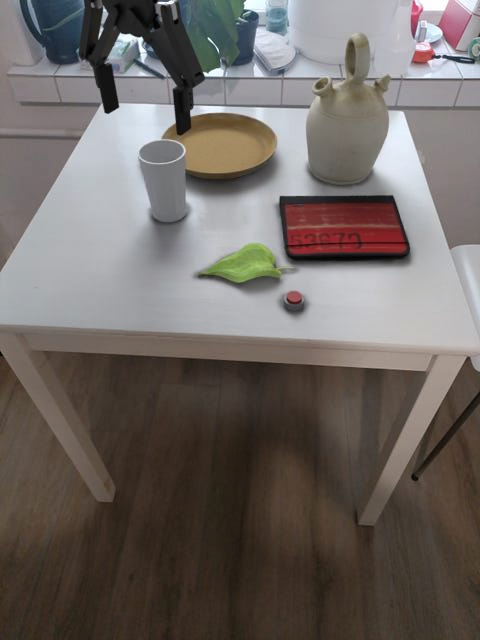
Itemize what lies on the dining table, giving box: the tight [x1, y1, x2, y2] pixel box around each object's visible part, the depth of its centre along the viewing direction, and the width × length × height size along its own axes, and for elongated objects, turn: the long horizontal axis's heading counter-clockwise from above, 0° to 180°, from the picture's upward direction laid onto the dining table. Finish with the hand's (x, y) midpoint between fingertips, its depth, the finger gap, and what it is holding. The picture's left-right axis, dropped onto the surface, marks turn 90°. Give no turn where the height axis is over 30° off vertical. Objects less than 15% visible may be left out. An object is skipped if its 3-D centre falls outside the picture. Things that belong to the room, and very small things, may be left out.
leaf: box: [197, 242, 295, 284], centre depth 79 cm, size 9×16×2 cm, turn 92°
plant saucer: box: [160, 112, 278, 180], centre depth 102 cm, size 24×24×3 cm
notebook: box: [278, 194, 411, 262], centre depth 85 cm, size 16×2×21 cm
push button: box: [283, 290, 305, 311], centre depth 74 cm, size 3×3×2 cm
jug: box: [305, 32, 392, 186], centre depth 90 cm, size 15×16×25 cm
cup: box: [136, 139, 188, 223], centre depth 85 cm, size 8×8×12 cm
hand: (147, 120), depth 74 cm, fingers open, 13 cm apart
